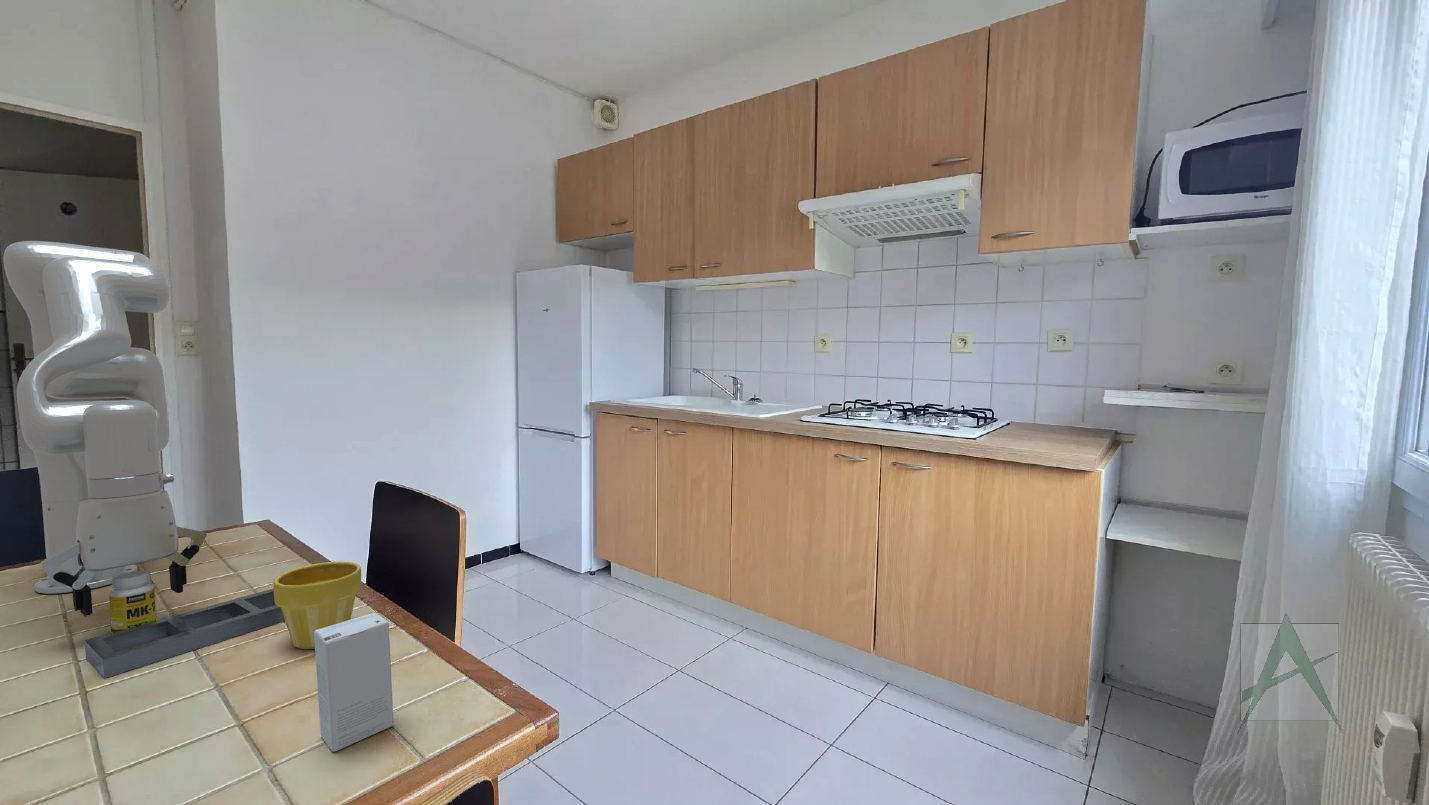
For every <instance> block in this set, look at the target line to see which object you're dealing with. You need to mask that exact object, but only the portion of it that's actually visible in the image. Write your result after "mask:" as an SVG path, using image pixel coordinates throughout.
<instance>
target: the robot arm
mask: <svg viewBox="0 0 1429 805" xmlns="http://www.w3.org/2000/svg"><path fill="white" fill-rule="evenodd" d="M2 257H3V269H4V272H5V276H6V278H7V281H8V284H9V286H10V288H11V290H12V292H13V294H14V295H15V297H16V298H17V300H18V302H19V304H20V305H21V306H22V308H23V310H24V311H25V314H26V315H27V318H28V320H29V323H30V327H31V339H32V349H33V350H32V351H33V359H32V360H30V362H29V363H28V364H27V366H25V367H24V369H23V371H22V373H21V375H20V377H19V379H18V382H17V387H16V402H17V408H18V416H19V423H20V428H21V429H20V430H21V434H22V437H23V441H24V442H25V444H26V446H27V447H28V448H29V449H30V450H32V452H33V455H34V458H35V462H36V466H37V467H36V468H37V470H38V476H39V486H40V496H41V503H42V504H41V506H42V508H41V509H42V518H43V519H42V520H43V532H44V544H45V557H46V558H45V559H44V560H42V561H40V563H39V566H40V568H41V569H43V571H45V573H47V576H45V577H43V578H41V579H39V580H37V581H36V582H35V583H34V584H33V585H34V591H35V592H36V593H40V594H49V595H50V594H52V595H53V594H64V593H72V600H73V601H72V604H73V609H74V611H75V612H78V611H80V613H81V614H82V615H83V616H84V617H88V616H91V615H92V614H94V613H93V612H94V610H93V598H92V589H95V588H96V589H97V588H100V587H103V586H108V585H112V578H113V577H114V576H117V575H119V574H122V573H127V572H132V571H138V566H137V565H139V564H143V563H147V562H153V561H157V560H161V559H164V558H167V559H168V560H170V561H171V564H169V567H168V570H169V584H170V585H169V586H170V587H169V588H170V590H171V591H172V592H175V593H177V594H180V593H183V592H184V585H187V584H188V579H187V565H189V563H190V561H191V560H192V558H194V557H195V556H196V554H198V553H199V552H200V550H201V547H202V545H203V543H204V542H205V540H206V538H207V532H204V531H202V530H197V529H193V528H187V527H183V526H177V523H176V518H175V512H174V508H173V504H172V502H171V497H170V496H169V493H168V491H167V490H163V489H164V486H165V485H167V484H169V483H174V481H175V480H174V478H175V477H174V474H173V473H169V474H166V473H163V472H162V471H161V465H160V464H161V461H160V452H161V451H162V450H164V449H165V448H166V447H167V445H168V443H169V440H170V423H169V415H168V412H169V411H168V404H167V395H166V387H165V386H166V385H165V376H164V371H163V370H164V369H163V367H162V363H161V360H160V359H159V358H158V356H157V355H156V354H155V353H154V352H153V351H151V350H149V349H146V348H141V347H131V346H132V337H131V333H130V329H129V325H128V320H127V315H126V312H134V313H153V314H154V313H160V312H162V311H164V310H166V308H167V306H168V304H169V301H170V289H169V285H168V284H169V283H168V280H167V278H166V276H165V274H164V272H163V271H162V270H161V267H159V266H158V265H157V264H156V263H155V262H154V261H153V260H151V259H150V258H149V257H148V256H146V255H144V254H143V253H141V252H137V251H131V250H124V249H117V248H116V249H115V248H106V247H99V246H98V247H97V246H91V245H90V246H89V245H83V244H74V243H67V242H66V243H65V242H56V241H47V240H46V241H45V240H44V241H43V240H23V241H17V242H13V243H11V244H9V245H7V247H6V248H5V250H4V252H3V256H2ZM47 397H48V398H52V399H59V400H80V401H59V402H57V401H55V402H50V401H48V398H47ZM94 399H95V400H94ZM96 399H97V400H96ZM98 399H101V400H98ZM102 399H119V400H102ZM81 400H82V401H81ZM83 400H84V401H83ZM87 400H88V401H87ZM179 537H185V538H190V541H189V544H188V545H187V546H186V547H184V549H183V550H182V551H181V552H178V551H179Z"/></svg>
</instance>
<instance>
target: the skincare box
mask: <svg viewBox="0 0 1429 805" xmlns="http://www.w3.org/2000/svg"><path fill="white" fill-rule="evenodd" d="M314 641H315V648H314V653H315V666H316V669H315V670H316V684H317V685H316V686H317V697H318V698H317V700H318V713H319V714H318V716H319V718H318V719H319V728H320V729H319V733H320V736H321V738H322V739H323V741H324V743H325V744H326V745H327V747H328V748H329V749H330V750H331V752H333V753H335V752H338V751H340V750H342V749H345V748H346V747H349V746H351V745H353V744H355V743H357V742H360V741H362V740H364V739H366V738H369V737H371V736H373V735H375V734H377V733H379V732H382V731H384V730H386V729H389V728H391V727H393V726H394V708H393V707H394V706H393V705H394V704H393V685H392V684H393V683H392V664H391V660H392V659H391V658H392V657H391V642H390V623H389V621H387V620H386V619H384V618H383V617H382V616H380V615H379V614H377V613H376V612H372V613H368V614H364V615H361V616H357V617H355V618H351V620H348V621H345V622H341V623H338V624H335V625H331V626H328V627H325V628H321V629H318V630H315V631H314Z"/></svg>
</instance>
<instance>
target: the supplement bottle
mask: <svg viewBox="0 0 1429 805" xmlns="http://www.w3.org/2000/svg"><path fill="white" fill-rule="evenodd" d="M151 581H152V576H151V571H150V570H147V569H142V570H137V571H132V572H127V573H122V574H119V575H117V576H114V577H113V578H112V584H111V586H112V588H113V589H112V590H111V591H110V592H109V595H108V598H109V599H108V600H109V615H110V616H109V617H110V631H111V632H110V633H113V632H117V631H120V630H124V629H128V628H131V627H135V626H139V625H142V624H146V623H150V622H153V621H157V612H156V611H157V610H156V609H157V608H156V595H155V594H156V593H155V592H156V591H155V584H154V583H153V582H151Z"/></svg>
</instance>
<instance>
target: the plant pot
mask: <svg viewBox="0 0 1429 805" xmlns="http://www.w3.org/2000/svg"><path fill="white" fill-rule="evenodd" d="M272 586H273V588H274V600H275V604H276V605H277V606H278V607H280V608H281V609H282V612H283V615H284V619H285V621H284V622H285V625H286V627H287V631H288V634H289V636H290V641H291V643H292V645H293V647H295V648H297V649H301V650H303V649H304V650H311V649H312V650H313V649H315V641H314V631H315V630H318V629H321V628H325V627H328V626H331V625H335V624H338V623H341V622H345V621H348V620H351V619H352V614H353V610H354V606H355V601H356V595H357V594H358V593H359V592H360V591H361V588H362V567H361V566H360V564H358V563H356V562H352V561H327V562H318V563H313V564H307V565H303V566H300V567H296V568H293V569H291V570H287V571H285V572H283V573H281V574H279V575H278V576H276V577H275V578H274V580H273V584H272Z"/></svg>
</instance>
